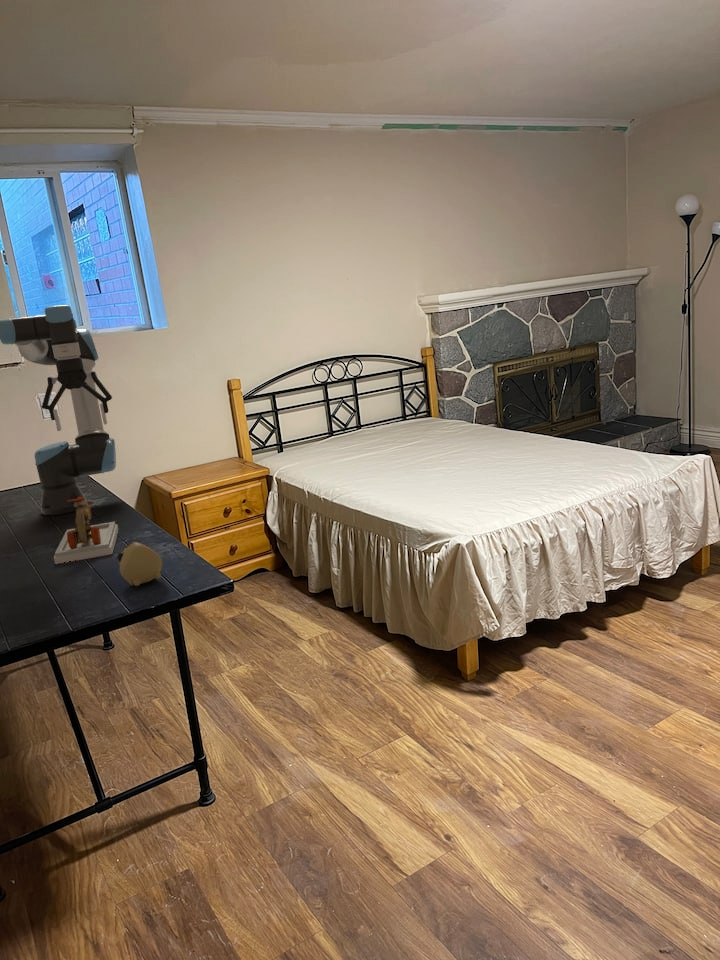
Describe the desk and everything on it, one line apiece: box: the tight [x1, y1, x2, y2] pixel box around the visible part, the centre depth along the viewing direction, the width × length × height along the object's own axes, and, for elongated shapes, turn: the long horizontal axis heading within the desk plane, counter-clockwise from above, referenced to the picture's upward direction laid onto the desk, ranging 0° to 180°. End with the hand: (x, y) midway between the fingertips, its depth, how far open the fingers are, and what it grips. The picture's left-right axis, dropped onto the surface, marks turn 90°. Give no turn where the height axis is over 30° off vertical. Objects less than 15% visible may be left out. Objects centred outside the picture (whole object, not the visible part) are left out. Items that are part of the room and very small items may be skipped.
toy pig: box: [117, 541, 163, 587], centre depth 169 cm, size 10×12×11 cm
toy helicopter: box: [67, 497, 101, 548], centre depth 202 cm, size 8×21×14 cm, turn 17°
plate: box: [53, 521, 119, 565], centre depth 203 cm, size 23×15×3 cm, turn 15°
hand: (82, 427), depth 217 cm, fingers open, 13 cm apart
